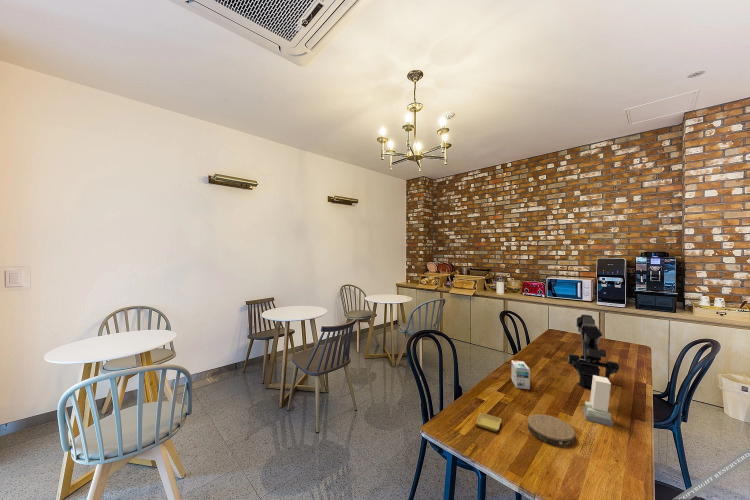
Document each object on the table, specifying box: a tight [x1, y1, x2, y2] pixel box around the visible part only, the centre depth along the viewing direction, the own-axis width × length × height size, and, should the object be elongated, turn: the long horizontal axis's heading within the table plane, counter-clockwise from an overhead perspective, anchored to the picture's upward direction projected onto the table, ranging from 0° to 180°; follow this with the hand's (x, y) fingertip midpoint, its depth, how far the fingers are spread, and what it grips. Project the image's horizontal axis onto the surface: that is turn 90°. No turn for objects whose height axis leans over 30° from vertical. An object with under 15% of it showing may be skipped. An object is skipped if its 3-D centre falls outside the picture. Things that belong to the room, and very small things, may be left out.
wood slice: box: [527, 413, 576, 448], centre depth 113 cm, size 16×16×3 cm
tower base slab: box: [582, 405, 614, 428], centre depth 124 cm, size 9×9×2 cm
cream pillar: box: [589, 375, 612, 412], centre depth 123 cm, size 5×5×12 cm
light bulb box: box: [510, 360, 531, 390], centre depth 154 cm, size 11×7×11 cm, turn 168°
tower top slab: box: [584, 401, 612, 420], centre depth 124 cm, size 8×8×2 cm
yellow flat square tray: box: [475, 412, 502, 432], centre depth 118 cm, size 9×9×2 cm
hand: (593, 381), depth 130 cm, fingers open, 9 cm apart
